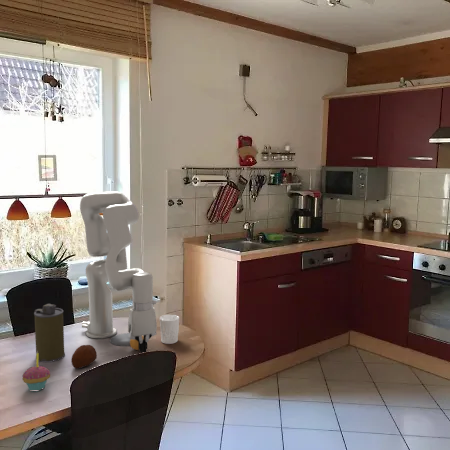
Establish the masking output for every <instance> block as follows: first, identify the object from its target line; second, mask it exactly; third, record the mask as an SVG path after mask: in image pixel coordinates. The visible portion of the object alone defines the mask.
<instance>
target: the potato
mask: <svg viewBox="0 0 450 450" xmlns="http://www.w3.org/2000/svg"><path fill="white" fill-rule="evenodd" d="M97 358H98V353H97V351H96V348H95V347H94V346H93V345H91V344H83V345H80V346H78V347H77V348H76V349H75V350H74V352H73V353H72V356H71V365H72V367H73V368H74V369H82V368H85V367H88V366H90V365H92V364H93V363H94V362H95V361H96V360H97Z"/></svg>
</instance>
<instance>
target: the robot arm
mask: <svg viewBox="0 0 450 450" xmlns="http://www.w3.org/2000/svg"><path fill="white" fill-rule="evenodd" d="M79 210H80V215H81V217H82V220H83V222H84V230H85V241H86V248H87V253H88V254H89V255H88V256H90V257H91V258H101V257H105V259H99V260H94V261H91V262H89V263H88V264H87V265H86V267H85V276H86V282H87V286H88V287H87V288H88V309H89V313H88V314H89V316H88V318H89V322H88V321H82V322H81V324H82V325H81V328H83V329H86V331H85V335H86V336H87V337H88V338H91V339H106V338H112V337H113V336H115V335H117V329H116V327H114V324H113V323H114V320H113V315H114V313H113V293H112V292H113V291H115V292H120V291H121V292H122V291H126V290H130V289H132V291H131V292H132V294H131V295H132V308H130V309H129V316H128V324H127V325H128V326H127V331H128V332H127V333H130V334H129V338H130V339H133V340H137V341H138V344H139V350H138V351H139V352H140V353H141V354H143V353H142V352H144V353H145V352H146V353H147V350H148V342H149V341H150V339H151V338H152V337H154V336H156V335H157V329H158V327H157V326H158V325H157V323H158V322H157V316H156V311H155V310H156V309H155V307H154V305H156V304H157V301H156V300H154V297H153V296H154V295H153V293H154V292H153V291H154V289H153V286H154V285H153V283H154V282H153V281H154V280H153V279H154V278H153V275H152V273H150V272H147V271H145V270H143V269H142V268H141V267H133V268H128V260H127V250H126V248H128V247H129V246H131V245H132V243H133V238H132V235H131V231H130V228H129V227H130V226H129V225H135V224H137V223H138V222H139V220H140V219H139V218H140V214H139V210H138V208H137V206H136V205H135V203H134V202H133V201H131V199H129V198H128V196H126V195H125V194H124V193H121V192H120V191H103V192H102V191H101V192H91V193H86V194H85V195H83V197H82V198H81V199H80V204H79ZM100 214H102V215H100ZM107 283H109V286H110V287H111V288H110V287H109V286H108V284H107ZM111 289H112V290H113V291H112V290H111ZM142 336H143V340H142Z"/></svg>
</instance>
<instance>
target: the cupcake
mask: <svg viewBox="0 0 450 450" xmlns="http://www.w3.org/2000/svg"><path fill="white" fill-rule="evenodd" d="M35 359H36V360H35V361H36V365H35V366H31V367H29V368H27V369H26V370H25V371H24V372H23V374H22V381H23V383H24V384H26V385H27V389H28V390H29V391H30V390H40V389H42V388H44V389H45V387H46V383H47V381H48V380H49V379H50V378H51V372H50V369H49V368H48V367H46V366H43V365H42V366H41V365H39V362H40V361H39V353H38V351H37V354H36V353H35ZM40 391H41V390H40Z"/></svg>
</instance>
